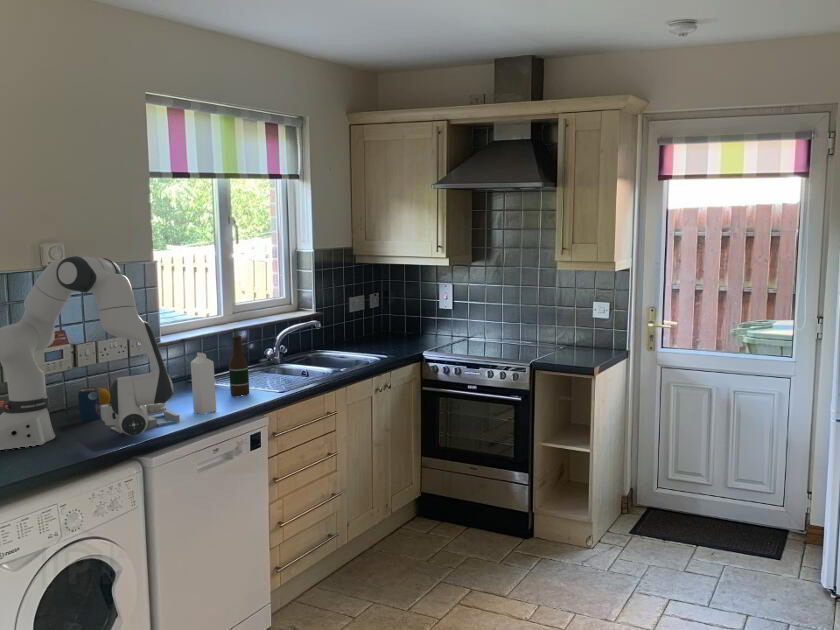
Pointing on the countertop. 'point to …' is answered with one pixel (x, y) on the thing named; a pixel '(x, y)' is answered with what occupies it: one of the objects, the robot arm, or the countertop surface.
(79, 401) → the soda can
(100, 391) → the yellow bell pepper
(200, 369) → the milk
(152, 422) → the white ridged flat base
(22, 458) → the countertop surface
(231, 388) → the beer bottle
